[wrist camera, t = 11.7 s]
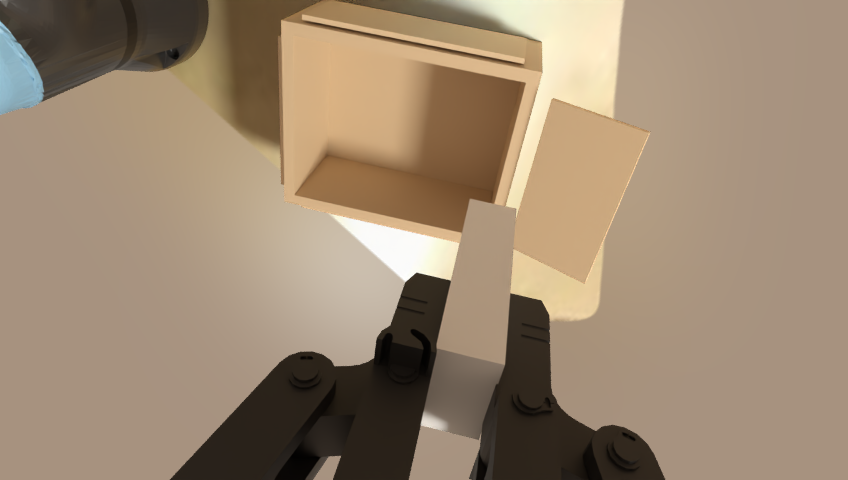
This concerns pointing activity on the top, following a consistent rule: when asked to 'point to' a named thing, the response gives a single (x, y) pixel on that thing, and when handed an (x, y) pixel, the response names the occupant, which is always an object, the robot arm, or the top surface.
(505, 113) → the open wooden box
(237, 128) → the top surface
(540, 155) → the flap
